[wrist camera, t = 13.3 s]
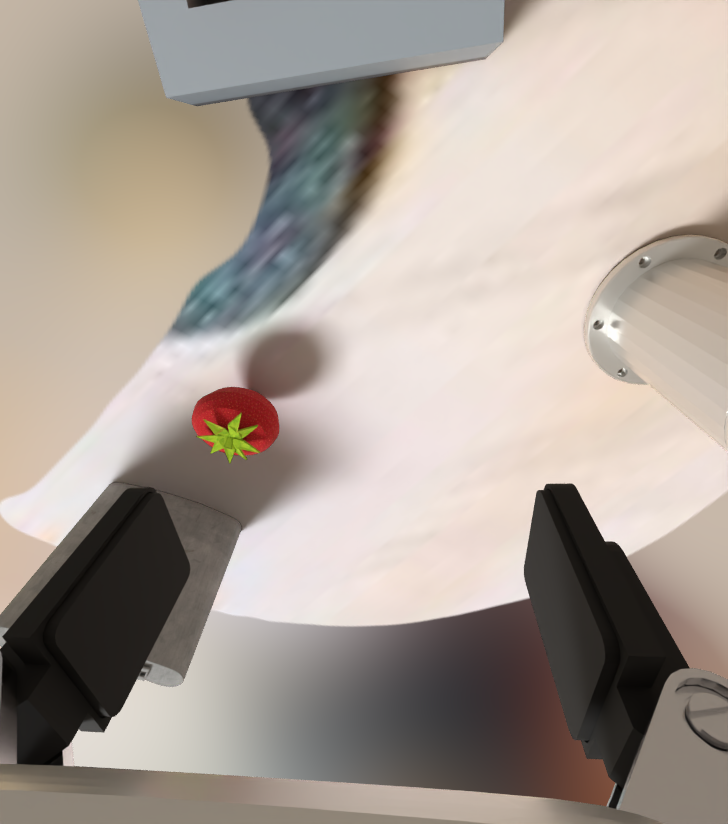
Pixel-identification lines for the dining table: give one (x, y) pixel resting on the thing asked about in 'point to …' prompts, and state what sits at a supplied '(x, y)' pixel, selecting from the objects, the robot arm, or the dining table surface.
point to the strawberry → (236, 421)
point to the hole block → (309, 42)
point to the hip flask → (208, 556)
